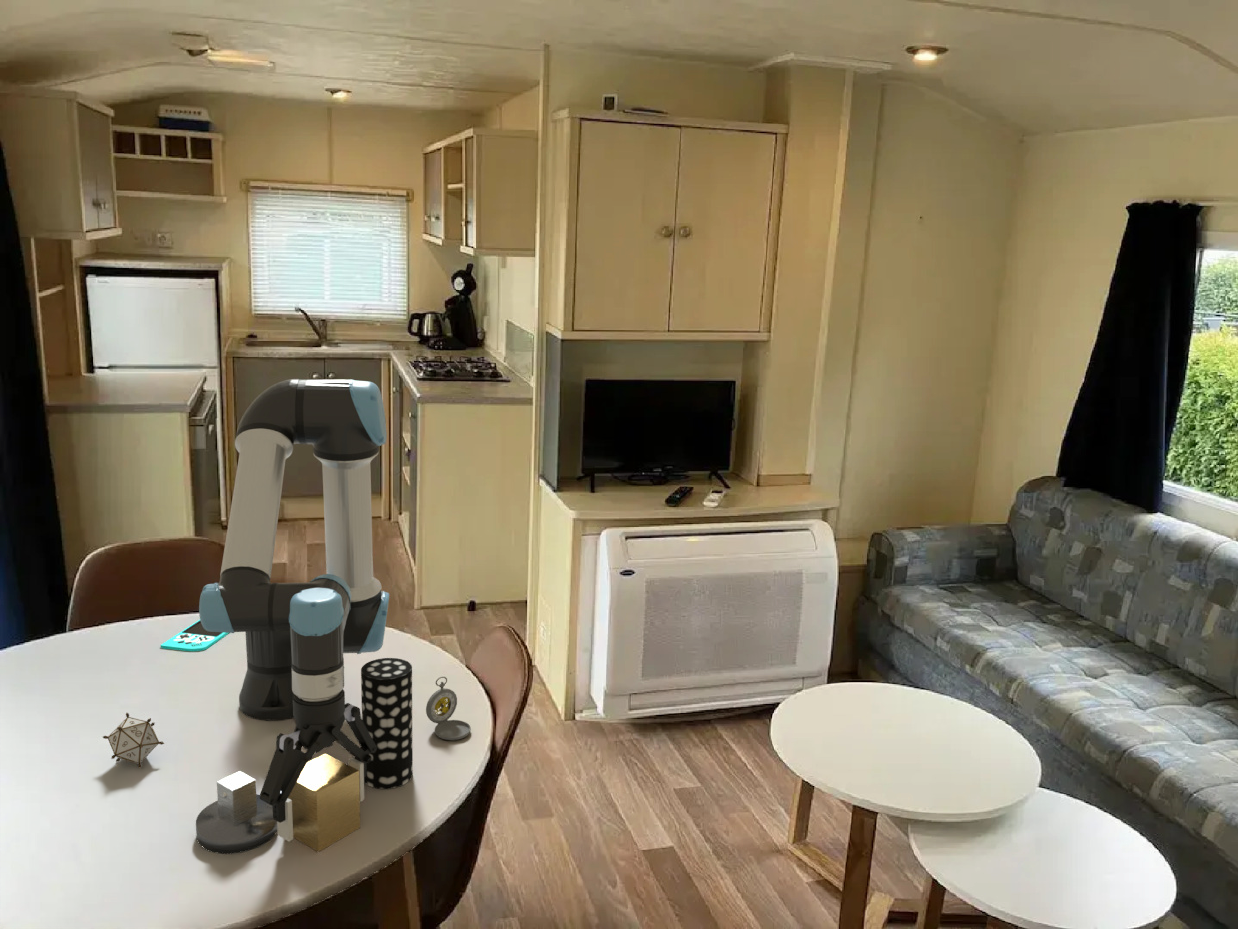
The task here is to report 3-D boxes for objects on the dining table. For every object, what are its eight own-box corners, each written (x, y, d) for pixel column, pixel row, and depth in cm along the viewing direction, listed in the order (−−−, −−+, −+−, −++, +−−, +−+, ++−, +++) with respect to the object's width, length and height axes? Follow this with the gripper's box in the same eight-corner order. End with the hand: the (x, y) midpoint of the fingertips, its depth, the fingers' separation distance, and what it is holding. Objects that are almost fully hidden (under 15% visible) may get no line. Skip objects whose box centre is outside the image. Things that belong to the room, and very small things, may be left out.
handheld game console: (159, 650, 216) (158, 644, 216) (200, 622, 232) (200, 617, 231) (201, 655, 215) (201, 649, 215) (240, 627, 230) (240, 621, 230)
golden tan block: (284, 832, 154) (282, 774, 152) (326, 809, 160) (325, 753, 158) (318, 852, 149) (316, 792, 147) (360, 827, 156) (359, 770, 154)
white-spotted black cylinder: (388, 794, 165) (386, 684, 160) (352, 778, 169) (350, 670, 165) (422, 773, 172) (422, 666, 167) (387, 758, 176) (386, 653, 172)
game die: (149, 777, 174) (183, 734, 173) (111, 784, 166) (147, 739, 165) (120, 741, 177) (154, 698, 176) (82, 746, 169) (117, 702, 168)
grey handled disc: (309, 769, 172) (307, 724, 170) (355, 793, 165) (354, 747, 163) (180, 833, 152) (177, 783, 150) (227, 864, 146) (224, 812, 144)
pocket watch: (463, 744, 182) (463, 694, 180) (420, 738, 184) (419, 688, 181) (478, 723, 190) (478, 675, 188) (436, 717, 191) (436, 669, 189)
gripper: (262, 730, 137) (268, 865, 142) (398, 670, 157) (399, 790, 162) (230, 714, 141) (236, 845, 146) (366, 657, 161) (368, 775, 166)
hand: (322, 817), depth 154 cm, fingers open, 13 cm apart
